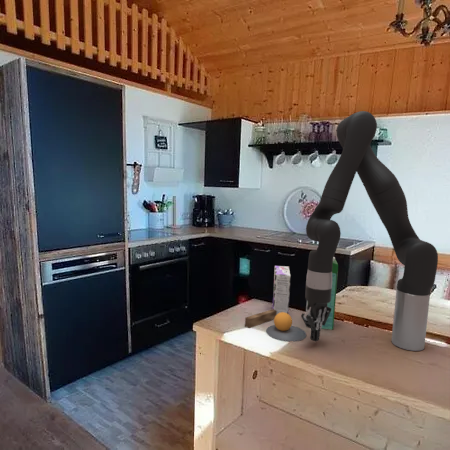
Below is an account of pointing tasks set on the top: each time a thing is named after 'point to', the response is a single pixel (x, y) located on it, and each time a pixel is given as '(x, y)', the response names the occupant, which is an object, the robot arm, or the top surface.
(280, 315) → the ball
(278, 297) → the candy box
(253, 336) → the top surface
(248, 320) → the bar
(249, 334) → the top surface
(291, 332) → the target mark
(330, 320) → the milk carton
